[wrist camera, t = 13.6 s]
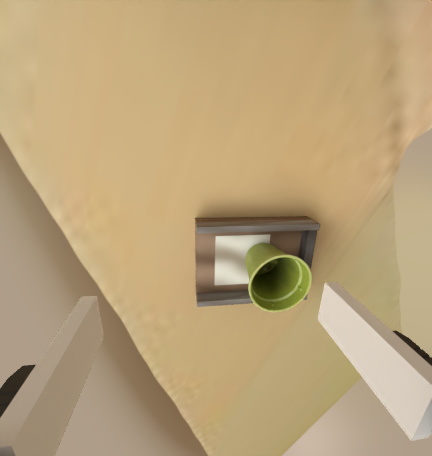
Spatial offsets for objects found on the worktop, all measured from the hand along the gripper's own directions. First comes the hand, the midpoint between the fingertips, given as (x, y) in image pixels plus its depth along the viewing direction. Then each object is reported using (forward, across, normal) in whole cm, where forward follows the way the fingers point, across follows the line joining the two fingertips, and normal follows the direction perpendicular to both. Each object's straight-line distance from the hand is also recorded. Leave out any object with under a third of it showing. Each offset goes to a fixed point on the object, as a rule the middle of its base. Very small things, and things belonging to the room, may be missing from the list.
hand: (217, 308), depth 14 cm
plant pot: (+25, +12, -10) cm, 29 cm away
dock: (+27, +10, -10) cm, 30 cm away
